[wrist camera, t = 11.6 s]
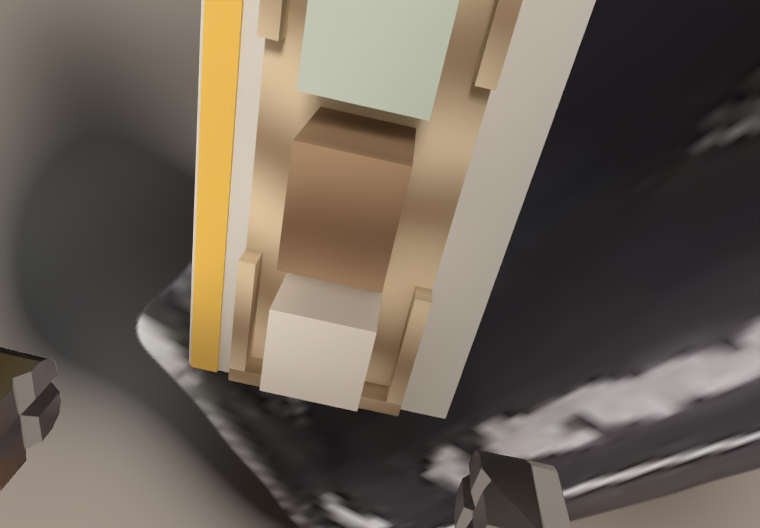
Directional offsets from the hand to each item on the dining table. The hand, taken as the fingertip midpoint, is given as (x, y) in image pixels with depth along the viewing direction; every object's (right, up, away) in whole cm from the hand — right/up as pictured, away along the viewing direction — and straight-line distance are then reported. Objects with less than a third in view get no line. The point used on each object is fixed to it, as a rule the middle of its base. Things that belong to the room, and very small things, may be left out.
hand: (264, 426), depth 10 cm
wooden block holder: (+2, +8, +15) cm, 17 cm away
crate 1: (+3, +12, +10) cm, 16 cm away
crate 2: (0, +1, +16) cm, 16 cm away
